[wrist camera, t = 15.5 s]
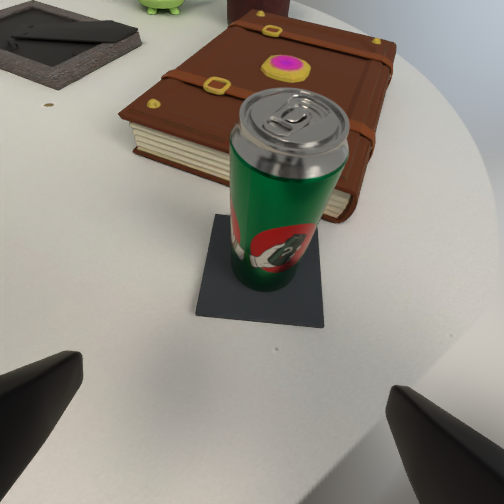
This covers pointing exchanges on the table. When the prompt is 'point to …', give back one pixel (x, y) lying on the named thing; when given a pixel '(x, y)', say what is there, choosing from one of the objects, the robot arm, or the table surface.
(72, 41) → the picture frame
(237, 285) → the coaster mat
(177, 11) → the teapot
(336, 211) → the book
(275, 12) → the vase
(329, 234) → the table surface
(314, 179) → the soda can
